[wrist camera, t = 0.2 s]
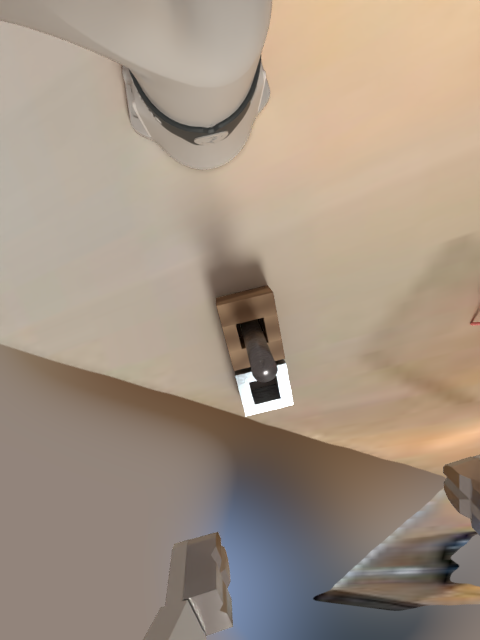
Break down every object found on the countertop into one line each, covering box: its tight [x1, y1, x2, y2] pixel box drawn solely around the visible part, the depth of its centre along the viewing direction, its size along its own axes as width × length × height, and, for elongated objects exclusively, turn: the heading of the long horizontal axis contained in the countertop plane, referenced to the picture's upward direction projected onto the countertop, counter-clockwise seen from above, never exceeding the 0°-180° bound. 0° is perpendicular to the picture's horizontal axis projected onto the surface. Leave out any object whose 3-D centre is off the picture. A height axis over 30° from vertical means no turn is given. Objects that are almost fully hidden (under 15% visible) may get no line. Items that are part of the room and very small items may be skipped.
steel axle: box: [240, 319, 278, 382], centre depth 41 cm, size 3×3×16 cm
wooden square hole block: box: [216, 285, 285, 371], centre depth 47 cm, size 12×9×4 cm
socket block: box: [235, 359, 293, 416], centre depth 51 cm, size 9×9×4 cm
